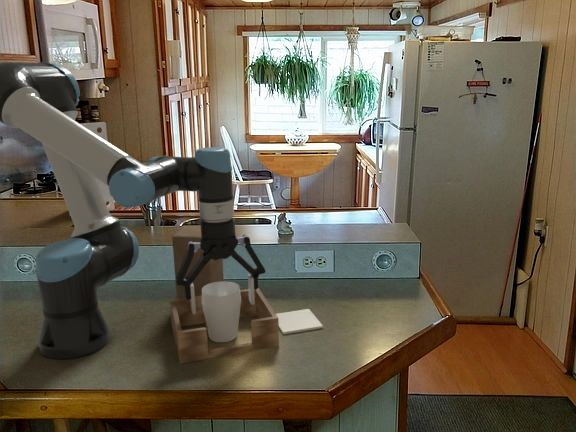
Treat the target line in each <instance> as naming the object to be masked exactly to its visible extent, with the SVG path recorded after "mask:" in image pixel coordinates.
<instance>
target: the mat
mask: <svg viewBox="0 0 576 432" xmlns="http://www.w3.org/2000/svg"><path fill="white" fill-rule="evenodd" d="M275 314H276V315H277V317H278V321H279V331H280V332H281V334H282V335H289V334H293V333H294V334H296V333H300V332H301V333H302V332H307V331H314V330H320V329H323V328H324V326H323V324H322V323H321V322H320V321H319V319H318V318H317V317H316V316H315V314H314V313H313V312H312V311H311V310H310V308H305V309H299V310H292V311H285V312H280V313H275Z"/></svg>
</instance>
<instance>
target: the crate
mask: <svg viewBox="0 0 576 432" xmlns="http://www.w3.org/2000/svg"><path fill="white" fill-rule="evenodd" d="M240 295H241V306H240V315H239V319H240V318H242V319H243V318H247V317H254V316H256V319H251V320H250V325H251V326H250V329H251V342H247V343H241V344H235V345H229V346H223V347H218V348H216V347H215V348H211V349H208V335H207V334H208V330H207V326H204V327H196V328H190V329H184V330H183V328H182V327H188V326H194V325H201V324H206V320H205V316H204V311H203V306H202V295H201V296H195V305H196V314H193V313H192V310H191V300H187V299H186V298H179V299H177V298H173V299H169V303H170V305H169V306H170V316H171V319H170V320H171V328H172V333H173V336H174V340H175V346H176V351H177V355H178V360H179V364H183V363H189V362H190V363H191V362H195V361H200V360H201V361H202V360H206V359H213V358H219V357H223V356H224V357H225V356H231V355H235V354H236V355H238V354H242V353H248V352H253V351H260V350H266V349H272V348H277V347H280V335H279V334H280V333H279V332H280V329H279V321H278V317H277V315H276V314H277V313H276V312H275V311H274V309H273V307H272V306H271V305H270V303H269V302H268V300H267V298H266V297H265V295H264V294H263V293H262V291H261V289H260V288H259V287H258V289H256V290H254V298H255V305H251V303H250V301H249V291H248V288H246V289H240Z"/></svg>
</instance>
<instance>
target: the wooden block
mask: <svg viewBox="0 0 576 432" xmlns="http://www.w3.org/2000/svg"><path fill="white" fill-rule="evenodd" d="M171 239H172V251H173V252H172V253H173V254H172V255H173V265H174V277H175V278H174V279H176V276H177V274H178V272H179V269H180V267H181V264H182V262H183V260H184V257H185V255H186V252H187V243H188V242H189V241H192V242H201V225H185V227H183V228H181V229H180V230H179V231H178V232H176V233H175V234H174V235H172V237H171ZM203 252H204V251H203V250H202V249H201V248H198V250H197V252H195V253H194V256H193V259H192V261H191V263H190V266H189V268H188V270H187V273H186V275H185V278H186V276H187V275H188V274H189V272H190V271H191V270H192V268H193V267H194V265H195V264H196V263H197V261H198V260H199V259H200V257H201V255H202V253H203ZM223 261H224V259H218V260H213V259H210V261H209V262H208V263H207V264H206V265H205V266H204V267H203V269H202V270H201V272H200V273H199V274H198V276H197V277H196V278H195V280H194V281H193V282H192V283H193V285H194V293H195V296H201V295H202V288H203V287H204V286H205V285H207V284H210V283H213V282H220V281H225V279H224V262H223ZM185 278H184V279H185ZM175 291H176V292H175V293H176V299H179V298H186V297H185V288H184V286H183V285H177V283H176V282H175Z"/></svg>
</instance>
